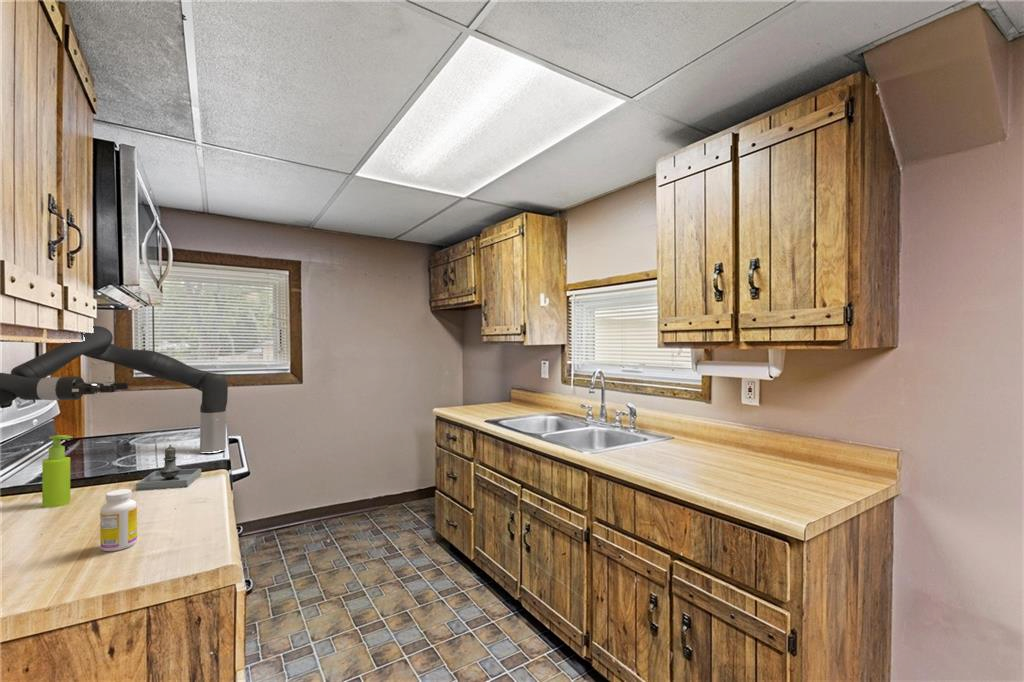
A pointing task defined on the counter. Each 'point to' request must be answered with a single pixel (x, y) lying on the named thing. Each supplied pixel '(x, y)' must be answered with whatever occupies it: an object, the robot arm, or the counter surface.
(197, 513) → the counter surface
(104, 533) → the supplement bottle
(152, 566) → the counter surface
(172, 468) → the dark gray chess piece
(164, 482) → the tray
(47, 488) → the soap dispenser
